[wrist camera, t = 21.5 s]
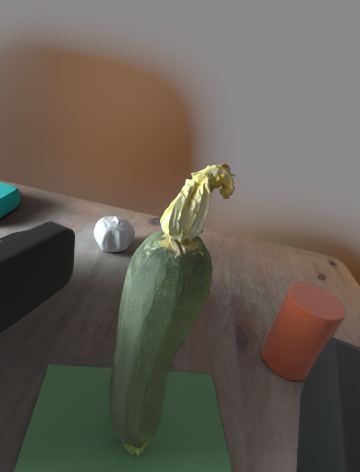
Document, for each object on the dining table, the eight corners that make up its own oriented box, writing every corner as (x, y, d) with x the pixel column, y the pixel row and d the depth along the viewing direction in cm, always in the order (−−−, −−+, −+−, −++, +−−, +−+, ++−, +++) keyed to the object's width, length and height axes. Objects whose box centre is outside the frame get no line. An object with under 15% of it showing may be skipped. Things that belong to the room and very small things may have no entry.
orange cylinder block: (315, 358, 33) (349, 301, 30) (303, 391, 29) (341, 329, 25) (270, 332, 35) (296, 275, 32) (253, 359, 31) (281, 297, 28)
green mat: (210, 378, 28) (212, 373, 28) (238, 517, 20) (241, 513, 19) (48, 368, 26) (48, 363, 25) (-2, 524, 17) (-3, 520, 17)
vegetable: (87, 433, 21) (123, 142, 12) (129, 391, 25) (182, 138, 16) (135, 480, 20) (220, 179, 11) (174, 428, 23) (263, 166, 14)
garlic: (126, 263, 41) (132, 228, 39) (86, 254, 41) (89, 219, 39) (135, 241, 47) (140, 210, 44) (99, 234, 47) (103, 202, 44)
